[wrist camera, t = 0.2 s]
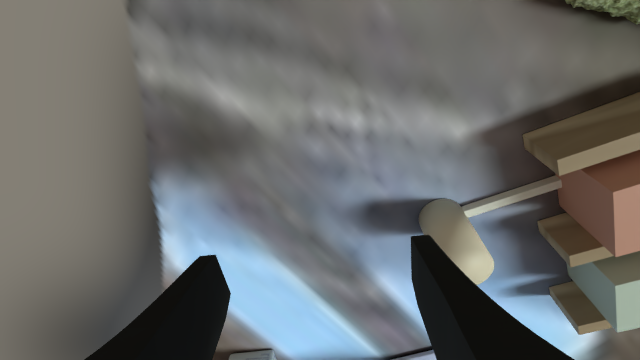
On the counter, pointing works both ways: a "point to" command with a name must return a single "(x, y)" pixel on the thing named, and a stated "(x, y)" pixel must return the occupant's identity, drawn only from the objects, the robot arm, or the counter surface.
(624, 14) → the washcloth
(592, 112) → the oak lane rack
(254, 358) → the medicine box
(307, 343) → the counter surface
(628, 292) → the sage block
